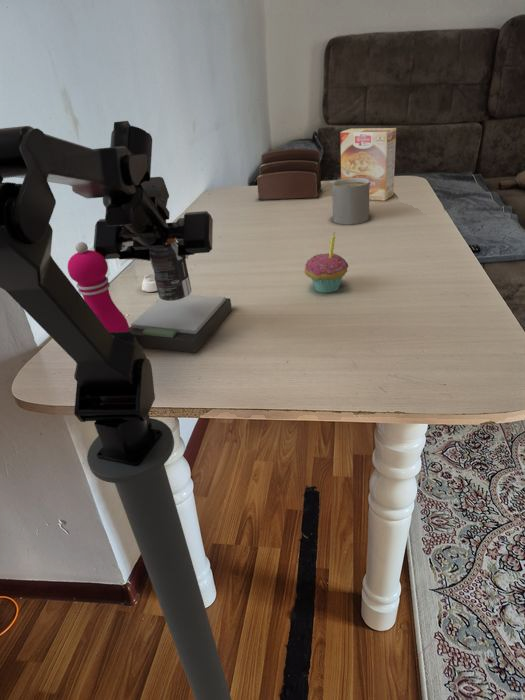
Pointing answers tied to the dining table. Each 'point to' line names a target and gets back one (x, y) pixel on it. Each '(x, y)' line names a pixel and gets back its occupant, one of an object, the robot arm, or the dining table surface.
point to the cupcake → (326, 270)
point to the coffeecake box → (370, 158)
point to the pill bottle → (170, 272)
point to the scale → (180, 322)
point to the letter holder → (289, 174)
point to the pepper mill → (96, 287)
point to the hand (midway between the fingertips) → (170, 257)
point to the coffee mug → (350, 200)
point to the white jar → (149, 283)
